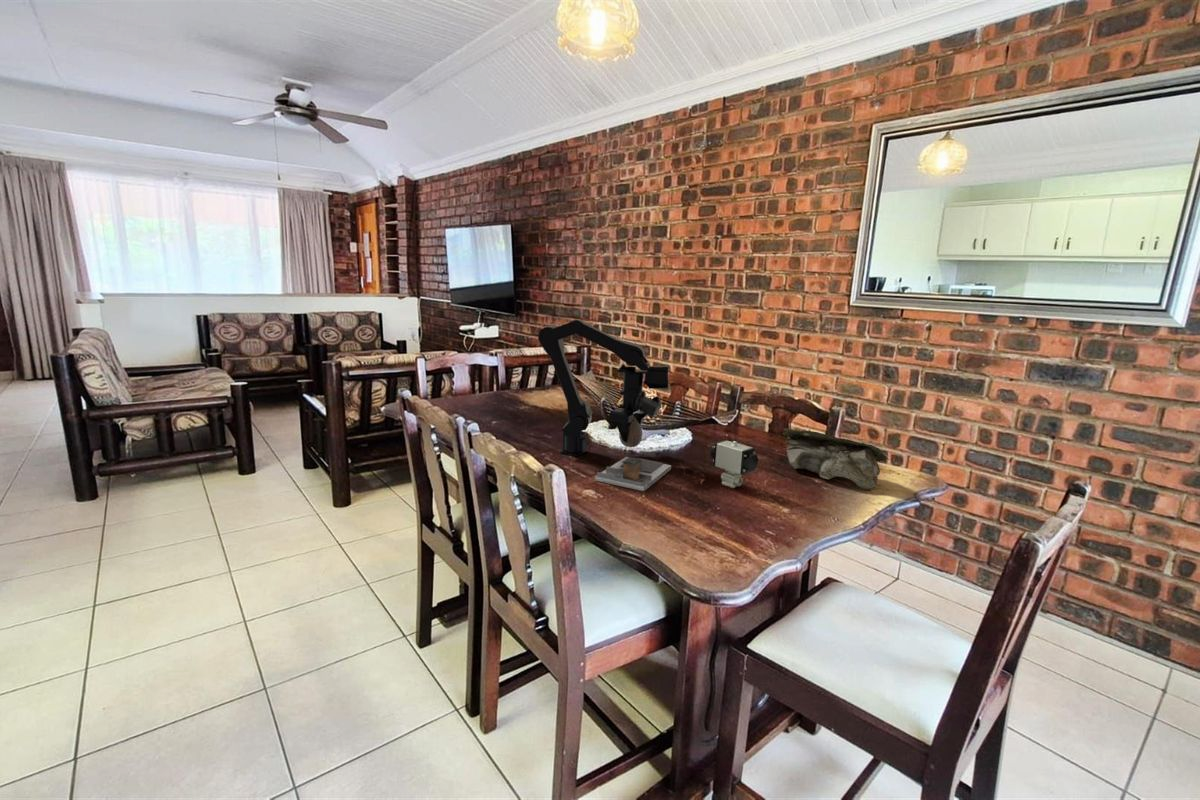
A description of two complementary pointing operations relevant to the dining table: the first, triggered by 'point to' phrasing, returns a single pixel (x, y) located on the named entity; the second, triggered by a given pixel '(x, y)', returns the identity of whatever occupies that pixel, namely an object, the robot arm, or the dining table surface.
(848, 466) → the hollow geode rock
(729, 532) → the dining table surface
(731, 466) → the pneumatic valve
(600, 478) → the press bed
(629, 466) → the brown block
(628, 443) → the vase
